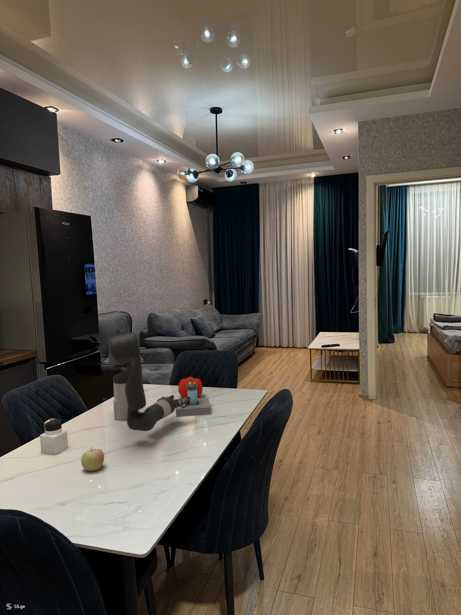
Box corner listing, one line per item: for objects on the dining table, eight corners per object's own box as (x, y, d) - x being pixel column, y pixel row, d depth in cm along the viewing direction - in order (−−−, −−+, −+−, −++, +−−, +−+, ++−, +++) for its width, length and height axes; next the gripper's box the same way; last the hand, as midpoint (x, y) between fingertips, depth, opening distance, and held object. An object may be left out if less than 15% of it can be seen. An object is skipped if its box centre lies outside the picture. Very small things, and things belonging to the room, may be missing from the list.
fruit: (92, 475, 142) (90, 452, 141) (77, 471, 146) (76, 448, 145) (109, 466, 148) (108, 444, 147) (95, 462, 152) (94, 440, 151)
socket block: (176, 416, 198) (175, 409, 198) (177, 406, 214) (176, 399, 214) (210, 414, 199) (209, 407, 199) (208, 404, 215) (208, 397, 215)
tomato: (201, 401, 221) (201, 381, 221) (176, 401, 222) (176, 382, 221) (203, 393, 235) (203, 375, 234) (180, 394, 235) (179, 375, 234)
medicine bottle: (68, 447, 166) (66, 418, 165) (55, 455, 159) (53, 424, 158) (54, 445, 168) (52, 416, 167) (40, 453, 162) (38, 422, 161)
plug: (187, 412, 204) (186, 384, 202) (187, 408, 209) (186, 381, 208) (198, 411, 204) (197, 383, 203) (198, 407, 209) (197, 381, 208)
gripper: (176, 401, 178) (194, 390, 193) (148, 398, 183) (167, 388, 198) (177, 418, 178) (195, 407, 193) (149, 415, 184) (168, 404, 199)
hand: (181, 397), depth 196 cm, fingers open, 8 cm apart
